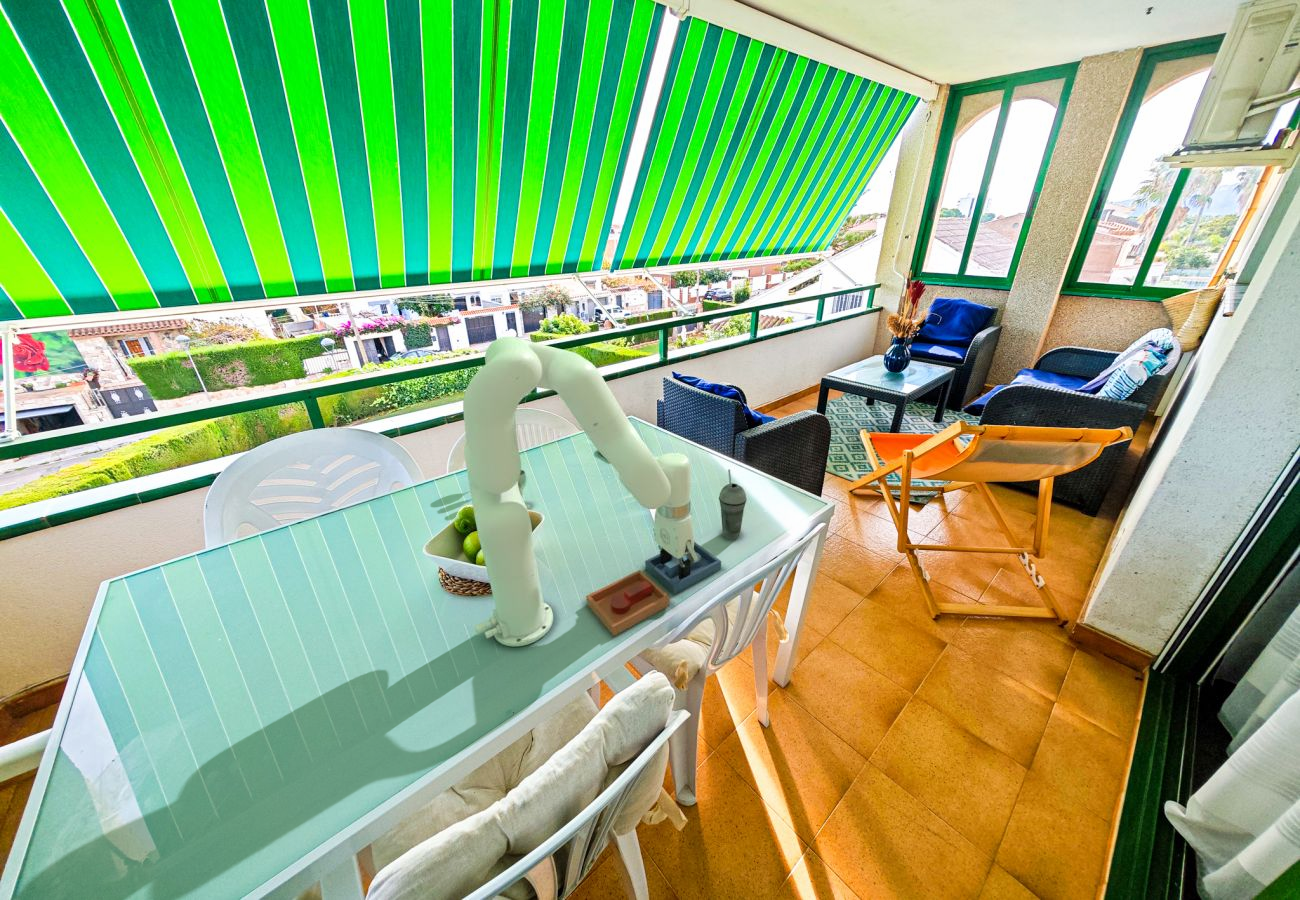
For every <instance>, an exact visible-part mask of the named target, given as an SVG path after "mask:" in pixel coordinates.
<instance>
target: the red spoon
mask: <svg viewBox="0 0 1300 900" xmlns="http://www.w3.org/2000/svg"><path fill="white" fill-rule="evenodd" d="M651 595H652V589H651V585H650V584H649V583H648V582H647V581H644V582H642V583H640V584H638V585H636V586H634V587H632V588H630V589H628V590H626V591H624V594H618V595H615V596H614V597H612V599H611V601H610V604H611V610H612V612H613V613H615V614H625V613H627V612H628V611H629V610H630V608H631V606H632V605H634V604H636V603H638V602H639V601H641V600H643V599H645V598H647V597H649V596H651Z"/></svg>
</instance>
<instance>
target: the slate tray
mask: <svg viewBox="0 0 1300 900" xmlns="http://www.w3.org/2000/svg"><path fill="white" fill-rule="evenodd" d="M694 551H695V552H696V553H698V554H700V556H701V564H700V566H699V567H697V568H690V575H689V576H687V577H685V578H683V579H681V580H680V579H679V575H678V574H676V575H674V576H673V577H671V578H670V577H669V576H668V575H667V574H666V573H665V564H666V563H665V564H663V565H662V564H661V563H660V553H658V554H656V555H654V556H652V557H650V558H648V559H646V560H644V564H645V565H644V566H645V567H644V568H645V570H646V571H647V572H648V573H649V574H651V575H652V576H653V577H654V578H655V579H656V581H658V582H660V583H661V584H662V585H663V586H664V587H665V588H666V589H667V590H669V591H670V593H672V594H673V595H676V594H678V593H680V592H682V591H684V590H685V589H687V588H689V587H691V586H693V585H695V584H696V583H698V582H700V581H702V580H704V579H705V578H707V577H709V576H711V575H713V574H715V573H716V572H719V571H720V570H722V560H720V559H719V558H718V557H716V556H715V555H714V554H712V553H711V552H709V551H708V550H707V549H705V548H704V547H702V546H701V545H700V544H698V543H697V542H695V541H694ZM674 559H676V558H675V557H674V556H672V560H674ZM672 560H671V561H672ZM669 562H670V561H669ZM667 563H668V562H667Z"/></svg>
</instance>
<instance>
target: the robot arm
mask: <svg viewBox="0 0 1300 900" xmlns="http://www.w3.org/2000/svg"><path fill="white" fill-rule="evenodd" d="M484 361H485V362H484V363H485V365H483V366H482V367H481V368H480V369H478V371H476V372H475V374H474V375H473V376H472V378H471V380H470V381H469V382H468V384H467V387H466V388H465V392H464V396H463V399H462V400H463V401H462V411H463V412H462V413H463V422H464V431H465V440H466V441H465V445H464V450H463V451H464V460H465V466H466V473H467V480H468V486H469V491H470V497H471V503H472V508H473V516H474V520H475V526H476V531H477V535H478V536H477V537H478V540H479V544H480V548H481V551H482V555H483V559H484V563H485V569H486V572H487V573H486V574H487V576H488V579H489V580H488V581H489V584H490V589H491V593H492V599H493V602H494V607H495V609H494V610H492V615H493V616H490V617H488V618H489V619H488V620H486V621H484V622H480V623H478V624H476V625H474V629H475V633H476V635H477V636H480V635H482V634H483V633H484V635H485V638H486V639H490V638H491V637H493V636H494V639H495V640H496V641H497V642H498V643H500V644H501V645H503V646H506V647H513V648H514V647H524V646H527V645H530V644H532V643H534V642H537V641H538V640H540V639H541V638H544V636H546V634H547V633H548V632H549V630H551V627H552V625H553V623H554V614H553V613H554V612H553V610H552V607H550V605H549V604H548V603H547V602H544V599H543V598H544V597H543V593H542V587H541V582H540V575H539V569H538V564H537V559H536V553H535V546H534V539H533V528H532V520H531V517H530V516H531V515H530V514H529V510H528V509H527V507H526V505H525V503H526V502H525V501H524V498H522V496H523V495H522V496H521V494H520V491H519V487H518V479H519V476H520V472H521V470H522V460H521V456H520V451H519V443H518V434H517V419H516V413H517V412H516V411H517V408H518V406H519V404H520V402H521V401H522V400H523V399H524V398H525V397H526V396H528V395H529V394H530V393H531V392H533V391H534V390H535V389H536V388H538V389H543V390H544V389H545V390H551V391H555V392H556V393H557V395H558V396H559V397H560V399H561V400H562V401H563V403H564V404H565V406H566V407H567V409H568V410H569V411H570V413H571V414H572V415H573V417H574V418H575V420H576V421H577V423H578V424H579V426H580V427H581V429H582V430H583V431H584V433H585V435H586V436H587V437H588V439H589V441H590V442H591V443H592V444H593V446H594V447H595V448H596V450H597V451H598V452H599V454H600V455H602V456H603V457H604V459H606V460H607V461H608V463H609V464H610V465H611V466H612V467H613V468H614V470H615V471H616V472H617V473H618V478H619V481H620V483H621V485H622V486H623V487H624V489H626V491H628V493H629V494H630V495H632V497H633V498H634V500H635V501H636V502H637V503H638V504H639V505H640V506H641V507H643V508H644V509H647V510H655V512H654V513H655V514H654V519H653V520H654V521H653V523H654V524H653V538H654V542H655V543H656V544H657V545H658V550H659V554H660V563H661V564H662V565H663V564H665V563H667V562H669V561H671V560H672V556H674V557H675V558H678V559H679V562H680V565H679V566H678V575H679V579H680V580H681V579H683V578H685V577H687V576H689V575H690V564H691V563H693V562H695V561H697V560H698V556H697V555H696V553H695V551H694V542H695V535H694V534H695V533H694V525H693V519H692V515H691V461H690V459H689V457H687V455H685V454H683V453H680V452H667V453H663V454H661V455H659V456H654V454H653V453H652V451H651V450H650V448H649V447H648V446H647V444H646V443H645V442H644V441H643V439H642V437H641V436H640V434H639V433H638V431H637V430H636V428H635V427H634V425H633V424H632V422H631V421H630V420H629V418H628V417H627V415H626V413H625V412H624V410H623V409H622V407H621V405H620V404H619V402H618V401H617V398H616V397H615V395H614V394H613V392H612V390H611V389H610V387H609V386H608V384H607V382H606V381H605V379H604V377H603V375H602V374H601V373H600V371H599V370H598V368H597V367H596V366H595V364H593V362H591V361H590V360H588V359H586V358H585V357H583V356H582V355H580V354H578V353H577V352H575V351H570V350H566V349H561V348H558V347H553V346H550V345H545V344H542V343H538V342H534V341H531V340H527V339H523V338H519V337H515V336H502V337H499V338H497V339H495V340H494V341H492V342H491V343H490V344H489V345H488V347H487V348H486V351H485V355H484ZM684 555H686V557H687V560H685V561H684V560H683V556H684Z"/></svg>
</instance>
